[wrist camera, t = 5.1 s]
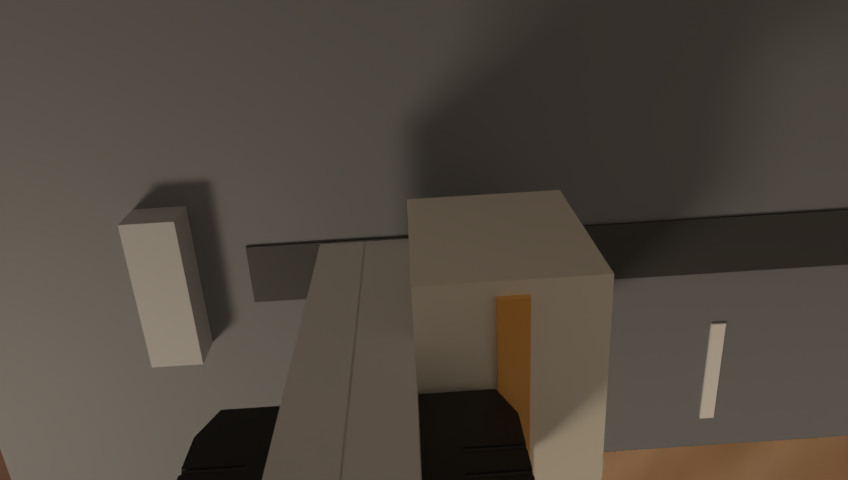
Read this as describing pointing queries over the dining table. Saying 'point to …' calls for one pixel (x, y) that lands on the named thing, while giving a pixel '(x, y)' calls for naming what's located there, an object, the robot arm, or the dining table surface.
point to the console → (410, 179)
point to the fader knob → (516, 317)
